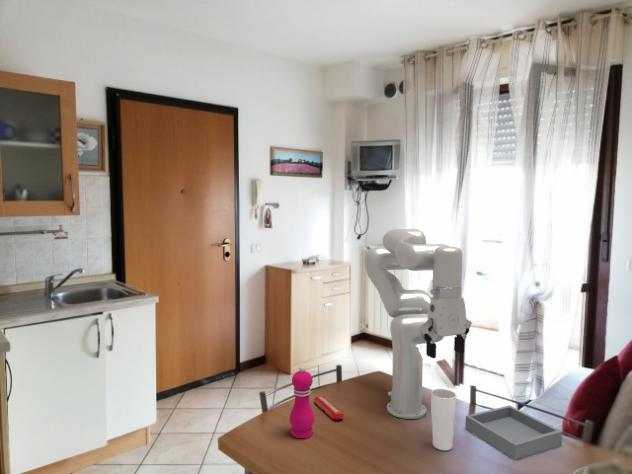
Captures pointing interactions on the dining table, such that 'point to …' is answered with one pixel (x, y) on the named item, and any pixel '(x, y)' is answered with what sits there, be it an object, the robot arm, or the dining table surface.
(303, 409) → the pepper mill
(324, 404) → the candy bar
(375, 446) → the dining table surface
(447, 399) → the drinking glass
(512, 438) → the tray
